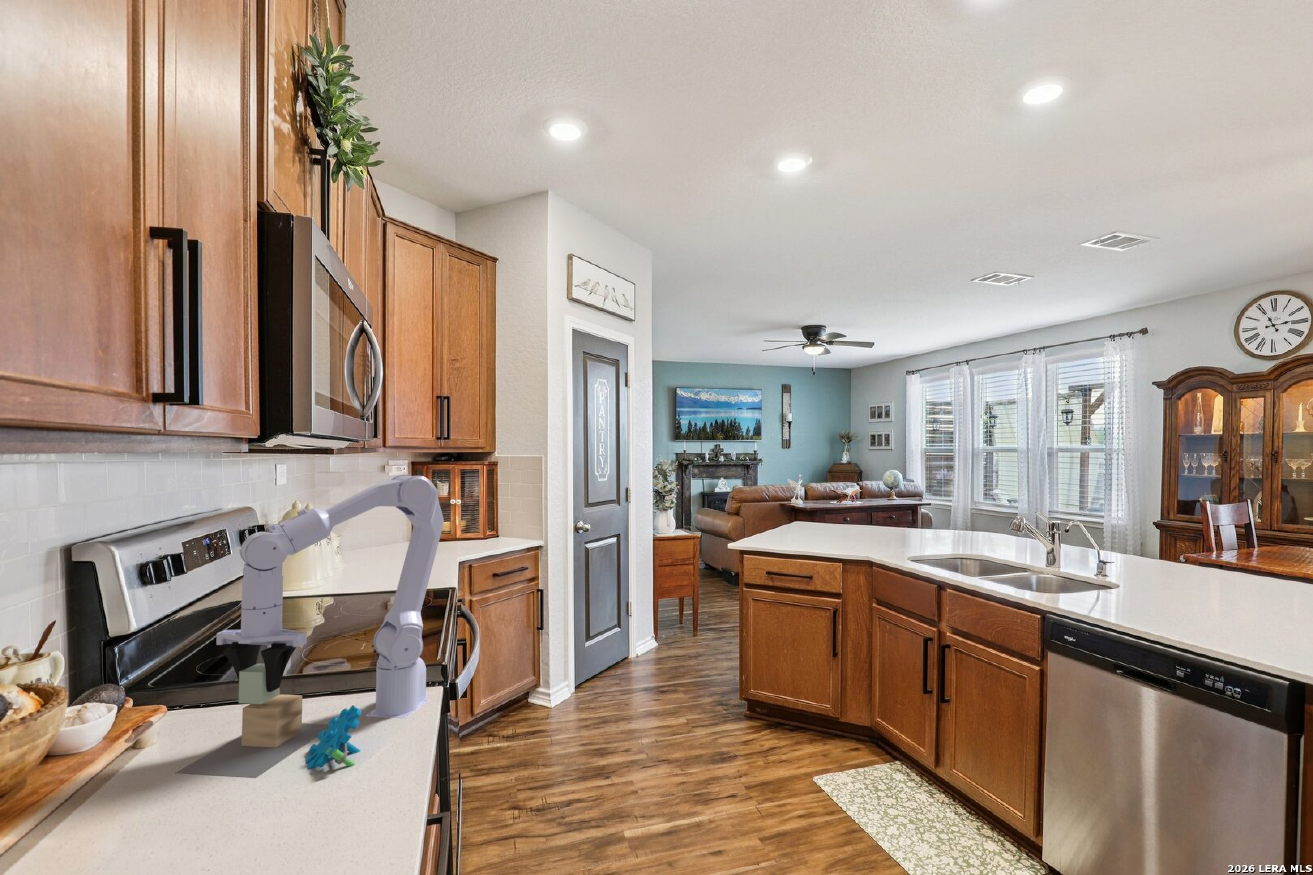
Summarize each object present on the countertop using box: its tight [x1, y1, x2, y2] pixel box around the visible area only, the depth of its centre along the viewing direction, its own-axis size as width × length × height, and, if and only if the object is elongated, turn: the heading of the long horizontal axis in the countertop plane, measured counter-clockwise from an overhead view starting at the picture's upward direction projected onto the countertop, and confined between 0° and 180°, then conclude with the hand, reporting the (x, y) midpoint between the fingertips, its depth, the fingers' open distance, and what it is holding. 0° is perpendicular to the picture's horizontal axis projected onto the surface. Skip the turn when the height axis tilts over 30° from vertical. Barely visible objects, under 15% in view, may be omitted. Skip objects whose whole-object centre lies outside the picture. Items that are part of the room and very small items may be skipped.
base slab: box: [241, 713, 303, 747], centre depth 101 cm, size 6×6×3 cm
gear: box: [304, 705, 362, 770], centre depth 94 cm, size 11×6×10 cm
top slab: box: [241, 694, 303, 728], centre depth 101 cm, size 6×6×3 cm
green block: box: [238, 662, 281, 705], centre depth 99 cm, size 4×4×5 cm
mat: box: [174, 722, 329, 779], centre depth 97 cm, size 18×13×1 cm
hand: (260, 689), depth 99 cm, fingers closed on green block, 4 cm apart
